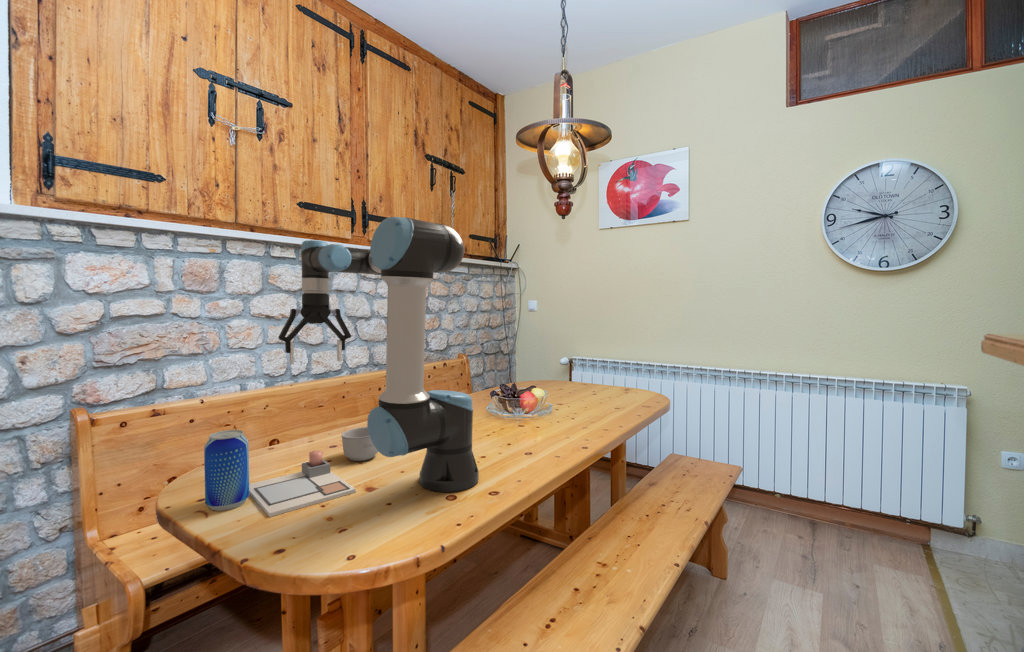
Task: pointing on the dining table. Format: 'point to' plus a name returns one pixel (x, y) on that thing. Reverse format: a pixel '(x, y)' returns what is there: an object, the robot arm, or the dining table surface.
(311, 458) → the button
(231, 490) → the beer can
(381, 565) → the dining table surface
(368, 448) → the teacup
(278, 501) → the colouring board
